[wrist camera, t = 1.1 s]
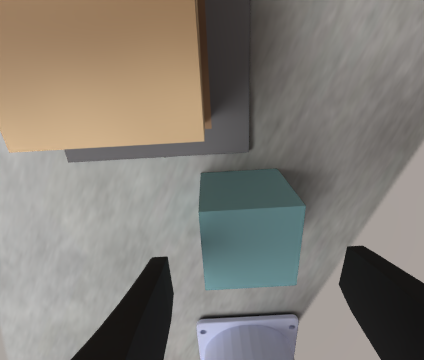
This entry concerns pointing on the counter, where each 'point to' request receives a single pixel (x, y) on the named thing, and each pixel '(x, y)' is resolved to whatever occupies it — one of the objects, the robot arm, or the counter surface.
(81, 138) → the oak top block
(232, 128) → the coaster mat
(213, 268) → the teal block
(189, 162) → the counter surface
